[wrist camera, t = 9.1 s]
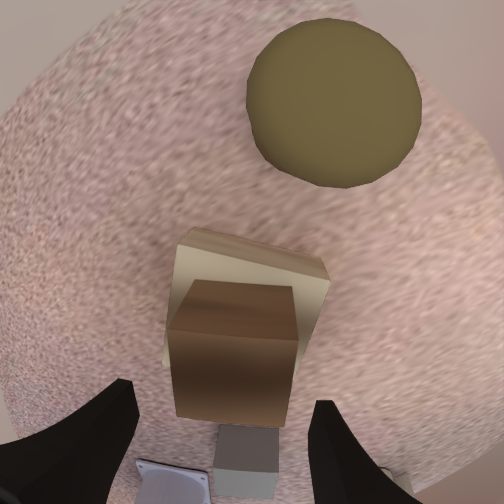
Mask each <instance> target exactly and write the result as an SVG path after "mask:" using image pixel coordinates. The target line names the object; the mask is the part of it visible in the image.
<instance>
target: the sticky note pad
mask: <svg viewBox="0 0 504 504" xmlns="http://www.w3.org/2000/svg"><path fill="white" fill-rule="evenodd" d="M195 279H199V280H211V281H223V282H236V283H250V284H264V285H278V286H292V290H293V297H294V305H295V313H296V321H297V329H298V338H299V343H298V350H297V356H296V362H295V369H294V375H293V380H294V377H295V375H296V372H297V370H298V368H299V365H300V363H301V360H302V358H303V355H304V353H305V350H306V348H307V345H308V342H309V340H310V337H311V335H312V332H313V329H314V327H315V324H316V321H317V319H318V316H319V313H320V310H321V308H322V305H323V302H324V299H325V297H326V294H327V291H328V288H329V285H330V282H331V280H330V278H329V275H328V273H327V271H326V268H325V266H324V264H323V261H322V259H321V258H320V257H316V256H311V255H307V254H303V253H299V252H295V251H291V250H287V249H283V248H279V247H275V246H271V245H267V244H263V243H258V242H254V241H250V240H246V239H242V238H238V237H234V236H230V235H225V234H221V233H217V232H213V231H209V230H204V229H200V228H196V227H194V228H193V229H192V230H191V231H190V232H189V233H188V234H187V235H186V236H185V237H184V238H183V239H182V240H181V241H180V242H179V243H178V245H177V251H176V257H175V264H174V271H173V277H172V284H171V291H170V299H169V306H168V314H167V323H166V331H165V340H164V349H163V359H162V365H164V366H168V367H170V359H169V349H168V339H167V328H168V326H169V324H170V322H171V320H172V319H173V317H174V315H175V313H176V312H177V310H178V308H179V306H180V304H181V303H182V301H183V299H184V297H185V296H186V294H187V292H188V290H189V289H190V287H191V285H192V284H193V282H194V280H195ZM292 382H293V381H292Z"/></svg>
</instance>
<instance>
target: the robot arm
mask: <svg viewBox="0 0 504 504" xmlns="http://www.w3.org/2000/svg"><path fill="white" fill-rule="evenodd" d="M139 417H140V413H139V410H138V405H137V401H136V397H135V393H134V388H133V384H132V381H129V380H124V379H119V378H118V379H117V380H116V381H114V382H113V383H112V384H111V385H109V386H108V387H107V388H106V389H104V390H103V391H102V392H101V393H99V394H98V395H97V396H95V397H94V398H93V399H92V400H90V401H89V402H88V403H86V404H85V405H84V406H82V407H81V408H80V409H78V410H77V411H75V412H74V413H72V414H71V415H69V416H68V417H66V418H65V419H63V420H61V421H60V422H58V423H56V424H54V425H52V426H50V427H49V428H47V429H45V430H42V431H40V432H38V433H35V434H33V435H31V436H28V437H26V438H23V439H20V440H17V441H13V442H10V443H6V444H2V445H0V504H106V502H107V498H108V495H109V492H110V488H111V485H112V482H113V479H114V477H115V474H116V472H117V470H118V468H119V466H120V464H121V462H122V460H123V457H124V455H125V453H126V451H127V449H128V447H129V445H130V442H131V440H132V438H133V436H134V433H135V430H136V427H137V423H138V420H139ZM308 457H309V464H310V471H311V478H312V485H313V492H314V500H315V504H422V503H421V502H419V501H417V500H416V499H415V498H413V497H412V496H411V495H409V494H408V493H407V492H406V491H404V490H403V489H402V488H401V487H399V486H398V485H397V484H396V483H394V482H393V481H392V480H391V479H390V478H389V477H388V476H387V475H386V474H385V473H384V472H383V471H382V470H381V469H380V468H379V467H378V466H377V465H376V464H375V462H374V461H373V460H372V459H371V458H370V456H369V455H368V454H367V453H366V451H365V450H364V449H363V448H362V446H361V445H360V444H359V442H358V441H357V439H356V438H355V436H354V435H353V433H352V432H351V430H350V429H349V427H348V426H347V424H346V423H345V421H344V419H343V418H342V416H341V414H340V412H339V411H338V409H337V407H336V405H335V403H334V402H333V401H332V400H316V404H315V408H314V412H313V416H312V420H311V424H310V427H309V431H308ZM136 465H137V468H138V470H139V473H140V475H141V478H142V483H141V486H140V489H139V491H138V494H137V497H136V500H135V503H134V504H211V500H210V491H209V482H208V474H207V473H205V472H201V471H194V470H188V469H182V468H177V467H171V466H166V465H161V464H157V463H152V462H148V461H143V460H139V459H138V460H136Z"/></svg>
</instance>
